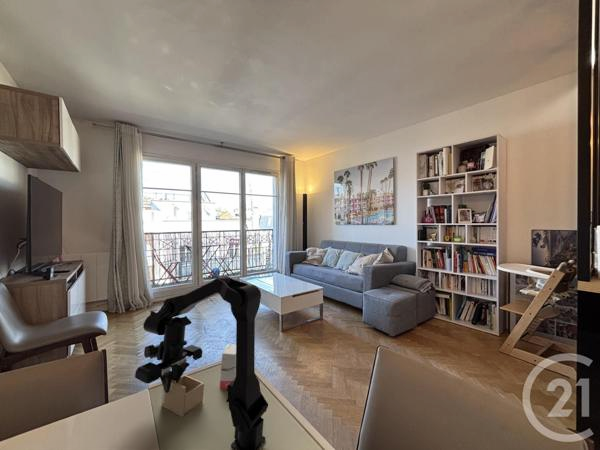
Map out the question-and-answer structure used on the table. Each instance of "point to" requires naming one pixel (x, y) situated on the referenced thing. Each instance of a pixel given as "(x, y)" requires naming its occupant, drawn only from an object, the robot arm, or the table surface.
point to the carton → (192, 392)
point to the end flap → (174, 398)
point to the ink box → (228, 366)
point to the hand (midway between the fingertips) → (169, 390)
